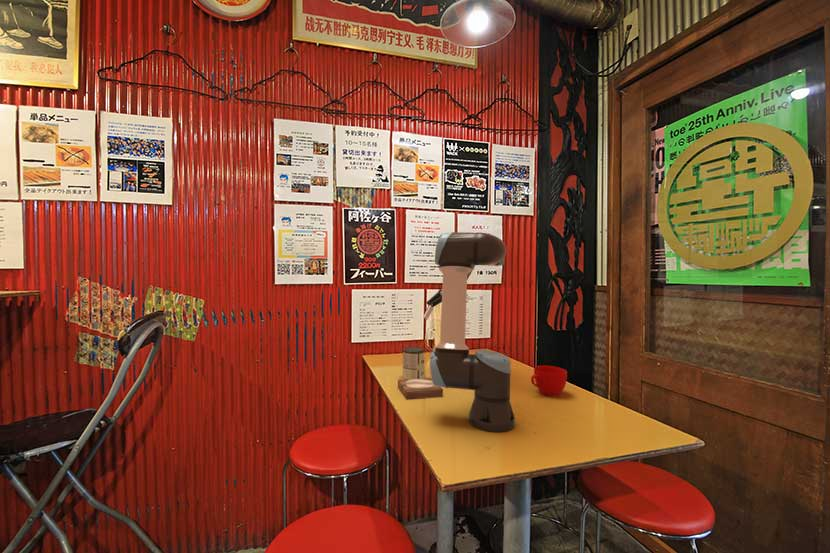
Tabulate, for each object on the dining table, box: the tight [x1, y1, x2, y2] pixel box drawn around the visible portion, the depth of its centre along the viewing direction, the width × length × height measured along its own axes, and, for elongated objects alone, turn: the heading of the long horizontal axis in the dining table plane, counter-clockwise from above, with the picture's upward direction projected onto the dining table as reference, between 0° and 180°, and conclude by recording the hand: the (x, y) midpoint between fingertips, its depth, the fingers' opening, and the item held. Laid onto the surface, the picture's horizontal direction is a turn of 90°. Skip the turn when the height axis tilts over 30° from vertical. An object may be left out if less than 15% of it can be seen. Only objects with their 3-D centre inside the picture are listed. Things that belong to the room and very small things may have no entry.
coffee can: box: [401, 346, 426, 380], centre depth 164 cm, size 10×10×14 cm
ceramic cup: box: [530, 365, 568, 397], centre depth 148 cm, size 13×17×10 cm
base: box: [397, 377, 444, 400], centre depth 147 cm, size 15×15×3 cm
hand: (436, 321), depth 162 cm, fingers open, 13 cm apart
